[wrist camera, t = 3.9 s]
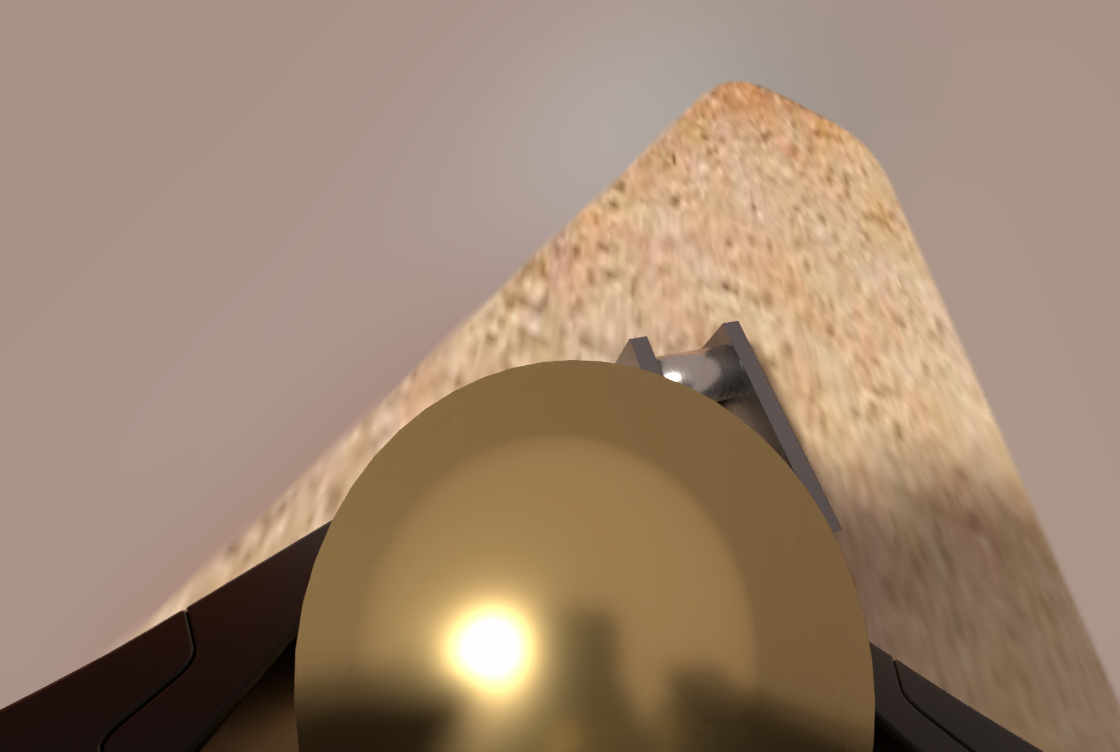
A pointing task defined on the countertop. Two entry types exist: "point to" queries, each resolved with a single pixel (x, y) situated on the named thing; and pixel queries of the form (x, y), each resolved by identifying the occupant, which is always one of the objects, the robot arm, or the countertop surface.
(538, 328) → the countertop surface
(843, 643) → the link pin
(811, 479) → the chain end
